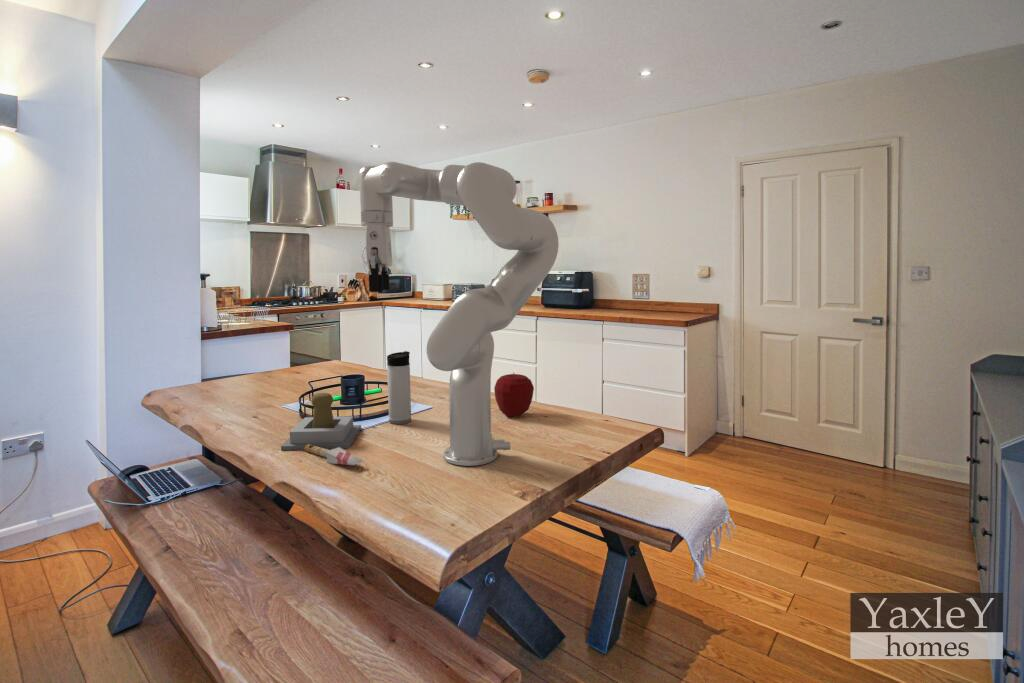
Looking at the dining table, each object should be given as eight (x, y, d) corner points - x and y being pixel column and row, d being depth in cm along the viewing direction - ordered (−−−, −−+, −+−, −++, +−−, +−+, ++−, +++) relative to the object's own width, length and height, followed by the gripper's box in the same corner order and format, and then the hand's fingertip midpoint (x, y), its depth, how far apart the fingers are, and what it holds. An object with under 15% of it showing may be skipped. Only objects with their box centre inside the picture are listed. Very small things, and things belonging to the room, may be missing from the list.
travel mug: (416, 420, 154) (414, 352, 151) (397, 426, 149) (395, 355, 146) (403, 416, 158) (401, 350, 155) (384, 421, 153) (382, 352, 150)
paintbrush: (350, 459, 116) (300, 444, 128) (351, 471, 116) (301, 455, 128) (365, 454, 119) (314, 440, 131) (366, 466, 119) (315, 450, 132)
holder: (361, 428, 147) (360, 414, 146) (348, 448, 131) (347, 432, 131) (301, 429, 146) (300, 415, 145) (281, 450, 130) (280, 434, 129)
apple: (534, 421, 153) (534, 376, 151) (493, 421, 153) (493, 376, 151) (533, 410, 165) (533, 368, 163) (495, 410, 165) (495, 367, 163)
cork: (341, 433, 139) (339, 392, 138) (321, 440, 134) (319, 397, 133) (326, 429, 142) (323, 389, 141) (306, 436, 137) (304, 394, 136)
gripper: (387, 217, 121) (389, 292, 124) (397, 222, 138) (399, 289, 141) (353, 217, 121) (356, 292, 123) (368, 222, 138) (370, 289, 140)
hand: (379, 290), depth 132 cm, fingers open, 9 cm apart
